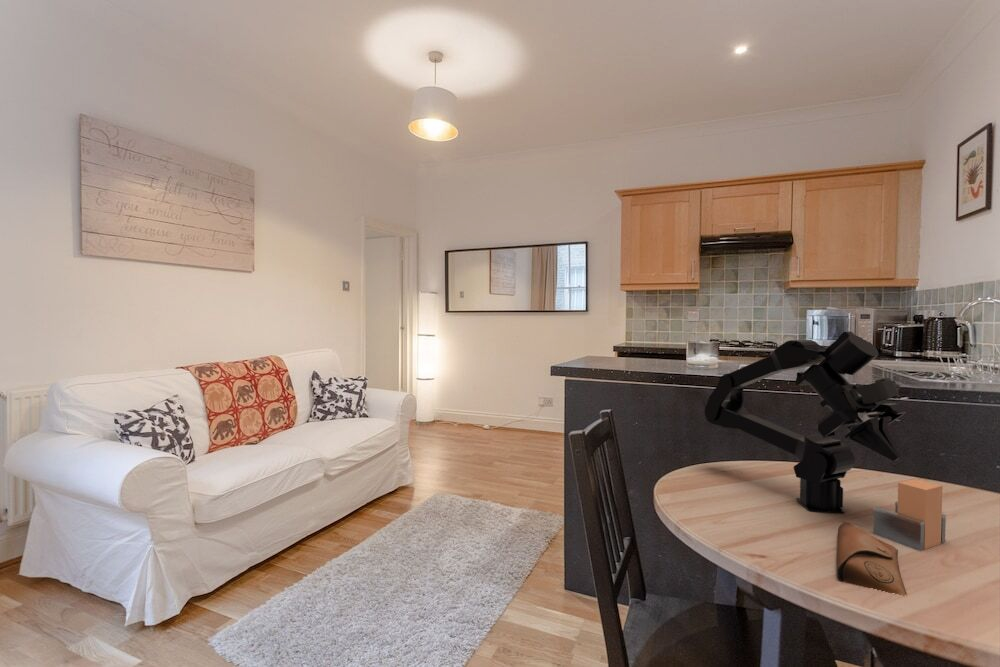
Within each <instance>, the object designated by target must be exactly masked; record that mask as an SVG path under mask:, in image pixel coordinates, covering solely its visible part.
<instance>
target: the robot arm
mask: <svg viewBox="0 0 1000 667" xmlns="http://www.w3.org/2000/svg"><path fill="white" fill-rule="evenodd" d="M878 356H879V351H878V349H877V347H876V346H874V344H872V342H870V341H867V339H866V340H865V339H864V338H862V337H861V336H859V335H856V334H854V333H853V331H843V332H842V333H841V334H840V335H839V336H838V337H837V339H836V340H834V341H833V342H832V343H831V344H830V345H829V346H828V347H827V346H821V345H820V344H819V343H818V342H816V341H815V340H812V339H792V340H787V341H785V342H783V343H782V344H780V345H779V346H778V347H776V348H774V350H773V351H772V352H771V353H770V354H769V355H768V356H766V357H763V358H762V359H759V360H757V361H754V362H753V363H750V364H748V365H745V366H743V367H741V368H739V369H736V370H734V371H731V372H729V373H724V374H723V375H721V376H720V378H719V381H718V383H717V386H716V387H715V388H714V389H713V391H711V394H710V395H709V397H708V398H707V402H706V405H705V407H704V417H705V418H706V419H705V420H706V421H707V422H708V423H709V424H711V425H712V426H716V427H721V428H727V429H733V430H734V429H735V430H739V431H741V432H743V433H745V434H748V435H750V436H751V437H754V438H756V439H758V440H761V441H763V442H765V443H767V444H770V445H772V446H774V447H775V448H778V449H781V451H782V450H783V451H785V452H787V453H788V454H792V455H793V456H795V457H796V459H797V460H798V461H799V462H798V463H796V464H795V465H794V466H793V471H794V474H795V477H796V478H798V479H799V480H800V481H799V497H796V502H798V503H799V504H800V505H801V506H802V507H803V508H805V509H806V510H807V511H808V512H812V513H827V514H839V515H844V514H845V511H844V510H843V509H842V508H843V507H844V488H843V487H842V485H841V482H842V481H841V479H844V478H845V477H846V475H847V472H848V471H851V470H852V469H853V467H854V466H855V461H856V460H855V459H856V458H855V456H854V453H853V452H852V449H851V448H850V447H849V446H848V445H846V444H845V443H843V441H844V440H841V439H835V438H833V437H834V436H835V435H836V434H835V431H836V430H838V429H839V428H844V427H845V428H846V427H847V431H848V432H849V433H846V434H845V435H844V438H845V439H847V440H850V441H854V442H855V443H857V444H860V445H862V446H863V447H866V448H868V449H870V450H871V451H873V452H875V453H878V454H880V455H881V456H883V457H885V458H886V459H889V460H890V461H892V462H895V461H898V460H900V459H901V456H900V454H899V452H898V449H897V447H896V445H895V443H894V441H893V439H892V437H891V434H890V432H889V430H888V429H889V425H891V424H892V423H894V422H895V421H897V420H898V419H899V418H901V417H902V416H904V415H905V414H907V411H906V410H905V409H904V408H903V406H901V404H900V403H894V402H888V403H879V402H882V401H885V400H889V399H896V398H900V396H901V395H900V393H899V392H900V389H901V385H900V384H897V383H896V382H895V380H892V379H890V378H889V377H883V378H882V379H877V380H875V382H871V383H870V384H866V385H863V386H861V385H859V384H851V383H850V382H849V381H848V380H847V378H845V376H843V375H850V376H854V375H855V374H857V373H858V372H859V371H860V370H862V369H863V368H864V367H866V366H867V365H868V364H869V363H871V362H872V361H873V360H875V359H876V358H877V357H878ZM804 368H807V369H806V370H805V371H801V372H800V371H799V372H796V378H795V382H794V384H795V386H807V385H809V386H810V387H811V389H813V391H814V392H815V393H816V394H817V396H819V397H820V399H821V402H819V405H820V406H821V407H822V408H829V410H831V412H829V413H828V414H827V415H825V417H823V418H822V419H820V420H819V421H817V423H816V431H817V432H818V433H815V434H810V435H809V434H808V435H802V434H800V433H797V432H795V431H793V430H790V429H789V428H785V427H783V426H780V425H778V424H776V423H773V422H771V421H769V420H766V419H764V418H761V417H759V416H756V415H754V414H751V413H750V412H749V411H748V409H746V407H745V406H743V405H744V401H745V396H744V395H745V394H744V389H745V387H746V386H749V385H751V384H754V383H756V382H759V381H762V380H764V379H766V378H769V377H772V376H775V375H777V374H779V373H782V372H786V371H791V370H799V369H804ZM729 395H730V397H729V399H727V397H728V396H729Z"/></svg>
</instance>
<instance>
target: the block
mask: <svg viewBox="0 0 1000 667" xmlns="http://www.w3.org/2000/svg"><path fill="white" fill-rule="evenodd" d="M897 501H898V513H899V514H902V515H905V516H908V517H911V518H915V519H918V520H921V521H924V522H925V524H924V550H927V549H929V548H933V547H935V546H938V545H941V544H942V543H941V524H942V514H943V485H940V484H938V483H937V484H936V483H934V482H933V483H932V482H929V481H925V480H920V479H917V478H912V479H908V480H904V481H899V482H898V483H897Z"/></svg>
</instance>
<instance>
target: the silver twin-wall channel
mask: <svg viewBox="0 0 1000 667" xmlns="http://www.w3.org/2000/svg"><path fill="white" fill-rule="evenodd" d="M894 503H895V504H894V505H895V506H894V507H895V508H894V509H895V510H894V511H892V510H888V509H885V508H882V507H880V506H876V507H875V506H874V507H873V532H872V534H873V535H875V536H877V537H881V538H884V539H886V540H889V541H892V542H895V543H897V544H900V545H903V546H905V547H909V548H911V549H914V550H917V551H919V552H922V551H924V550H925V549H924V524H925V522H924V521H921V520H918V519H915V518H911V517H908V516H905V515H902V514H899V513H898V500H897V501H894ZM946 518H947V515H946V514H944V513H942V524H941V544H945V543H946V524H947V523H946V522H947V520H946Z"/></svg>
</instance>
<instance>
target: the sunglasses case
mask: <svg viewBox="0 0 1000 667" xmlns="http://www.w3.org/2000/svg"><path fill="white" fill-rule="evenodd" d="M836 537H837V538H836V539H837V540H836V573H837V574H836V575H837V577H838V579H839V580H840V581H841V582H842V583H847V584H849V585H850V584H851V585H854V586H858V587H862V586H863V588H866V587H867V589H870V588H873V589H872V590H874V589H877V590H876V591H879V590H881V591H880V592H883V591H885V592H884V593H887V592H888V593H887V594H892V593H895V594H894V595H896V594H900V595H899V596H901V595H902V596H901V597H904V596H905V595H907V591H906V588H905V585H904V581H903V579H902V575H901V570H900V566H899V559H898V551H899V549H897V548H896V547H895V546H892V544H889V543H887V542H885V541H883V540H881V539H880V538H877V537H875V536H873V535H871V534H870V533H868V532H867V531H866V530H864V529H862V528H861V527H859V526H858V525H856V524H854V523H852V522H850V521H844V522H842V523H841V524H840V525H839V527H838V529H837V536H836Z"/></svg>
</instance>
